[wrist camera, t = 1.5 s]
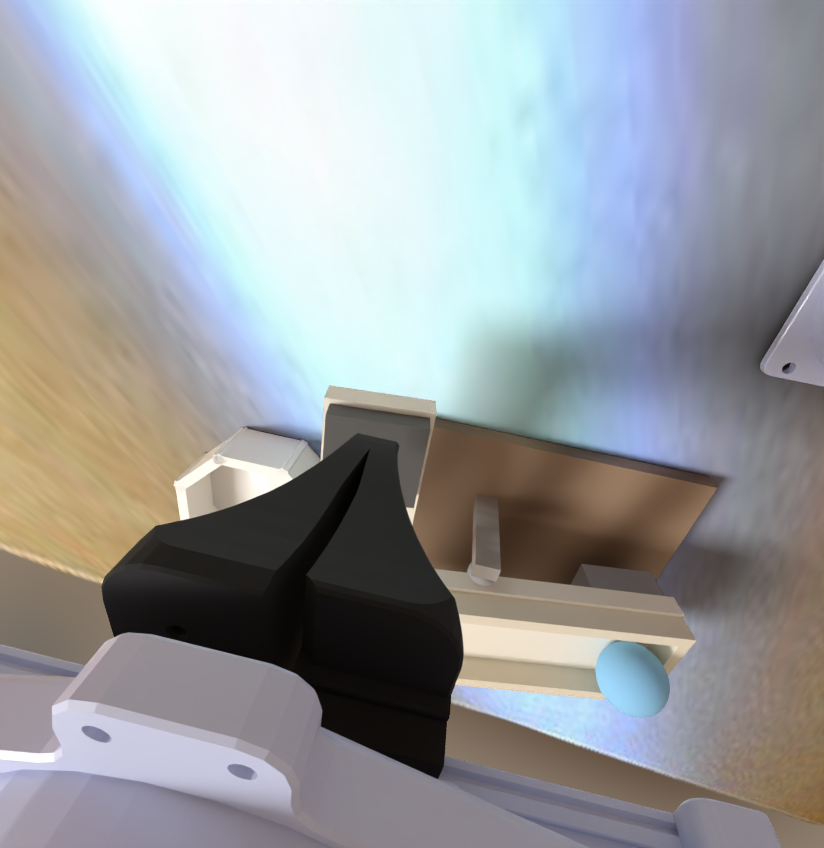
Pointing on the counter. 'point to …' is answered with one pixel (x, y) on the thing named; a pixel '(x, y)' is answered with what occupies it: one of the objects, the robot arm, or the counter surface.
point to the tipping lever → (518, 581)
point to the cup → (241, 471)
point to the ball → (632, 679)
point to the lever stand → (547, 507)
